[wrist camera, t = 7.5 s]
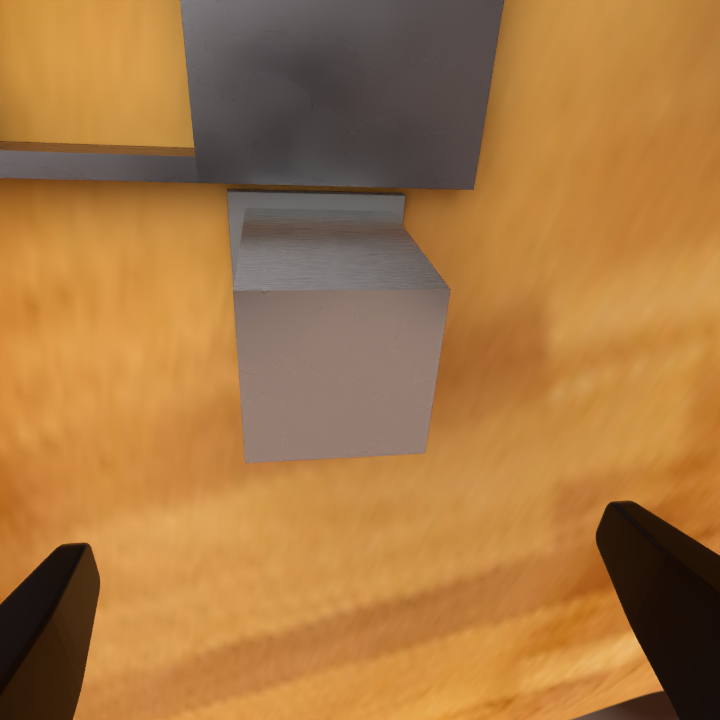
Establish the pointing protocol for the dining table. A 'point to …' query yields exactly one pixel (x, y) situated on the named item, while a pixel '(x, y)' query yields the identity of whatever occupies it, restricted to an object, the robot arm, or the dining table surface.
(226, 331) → the dining table surface
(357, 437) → the brushed metal block
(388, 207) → the pad
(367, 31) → the plate with rectangular hole
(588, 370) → the dining table surface
